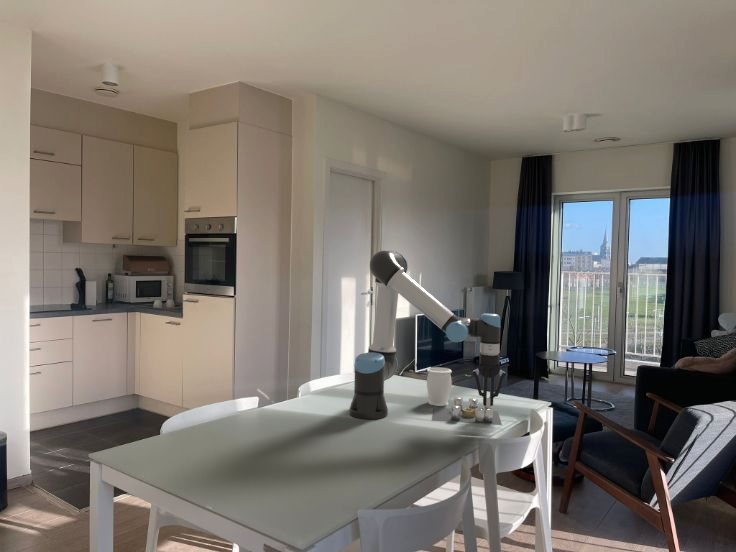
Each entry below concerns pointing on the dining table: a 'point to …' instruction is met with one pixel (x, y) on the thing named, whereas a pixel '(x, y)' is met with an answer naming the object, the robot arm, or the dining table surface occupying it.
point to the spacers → (480, 413)
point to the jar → (439, 385)
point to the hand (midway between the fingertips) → (487, 413)
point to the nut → (468, 412)
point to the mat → (445, 415)
